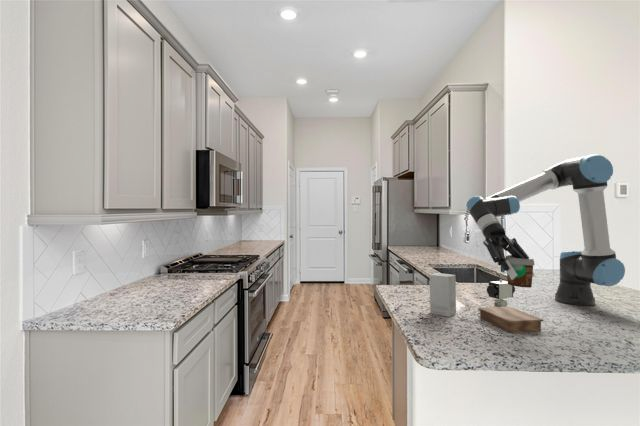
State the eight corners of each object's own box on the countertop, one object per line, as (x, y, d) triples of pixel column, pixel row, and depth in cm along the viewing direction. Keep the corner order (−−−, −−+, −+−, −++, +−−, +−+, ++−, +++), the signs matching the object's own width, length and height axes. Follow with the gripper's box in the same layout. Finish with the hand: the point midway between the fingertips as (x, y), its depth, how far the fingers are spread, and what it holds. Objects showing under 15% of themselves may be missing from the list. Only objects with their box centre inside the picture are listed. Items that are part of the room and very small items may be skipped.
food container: (497, 281, 138) (497, 255, 138) (512, 281, 138) (512, 254, 138) (517, 288, 125) (517, 259, 125) (534, 288, 126) (534, 259, 126)
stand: (508, 316, 141) (508, 306, 141) (543, 331, 124) (543, 319, 124) (478, 318, 139) (478, 307, 139) (509, 333, 122) (509, 321, 122)
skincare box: (456, 314, 144) (457, 274, 144) (449, 317, 139) (449, 276, 139) (436, 310, 149) (436, 272, 149) (428, 313, 144) (429, 274, 144)
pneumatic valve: (515, 308, 154) (515, 279, 154) (495, 310, 149) (495, 281, 149) (503, 304, 159) (504, 277, 159) (484, 307, 154) (484, 279, 154)
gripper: (506, 234, 149) (538, 282, 134) (465, 234, 144) (494, 284, 128) (517, 222, 144) (552, 270, 128) (474, 221, 139) (506, 271, 123)
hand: (523, 277), depth 128 cm, fingers closed on food container, 7 cm apart
